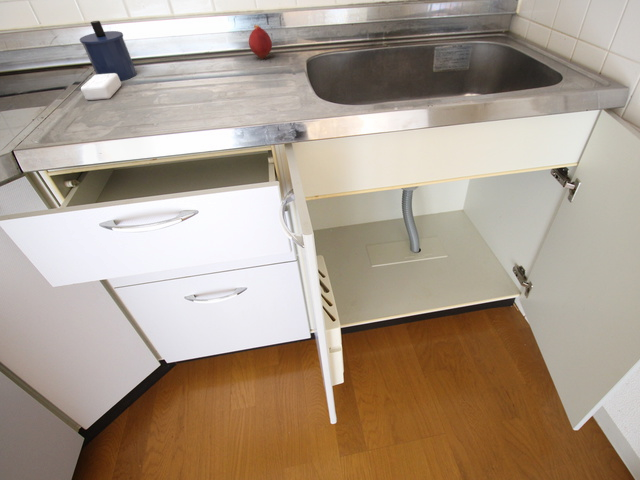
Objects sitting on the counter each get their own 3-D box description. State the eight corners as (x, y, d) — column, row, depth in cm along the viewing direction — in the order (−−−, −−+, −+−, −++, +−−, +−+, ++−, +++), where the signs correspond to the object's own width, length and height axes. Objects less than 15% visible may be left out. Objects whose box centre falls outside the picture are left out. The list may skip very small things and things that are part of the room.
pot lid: (75, 42, 93) (66, 23, 90) (114, 34, 98) (107, 15, 95) (90, 49, 88) (81, 28, 86) (131, 39, 93) (123, 20, 90)
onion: (267, 54, 108) (261, 20, 102) (278, 58, 104) (272, 24, 99) (248, 58, 105) (241, 24, 99) (259, 63, 102) (252, 28, 96)
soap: (99, 87, 93) (93, 73, 91) (123, 85, 94) (117, 71, 91) (85, 101, 87) (78, 87, 85) (110, 99, 87) (104, 85, 85)
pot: (93, 77, 99) (76, 40, 93) (127, 68, 103) (112, 31, 97) (108, 85, 94) (90, 46, 88) (142, 74, 99) (128, 37, 93)
